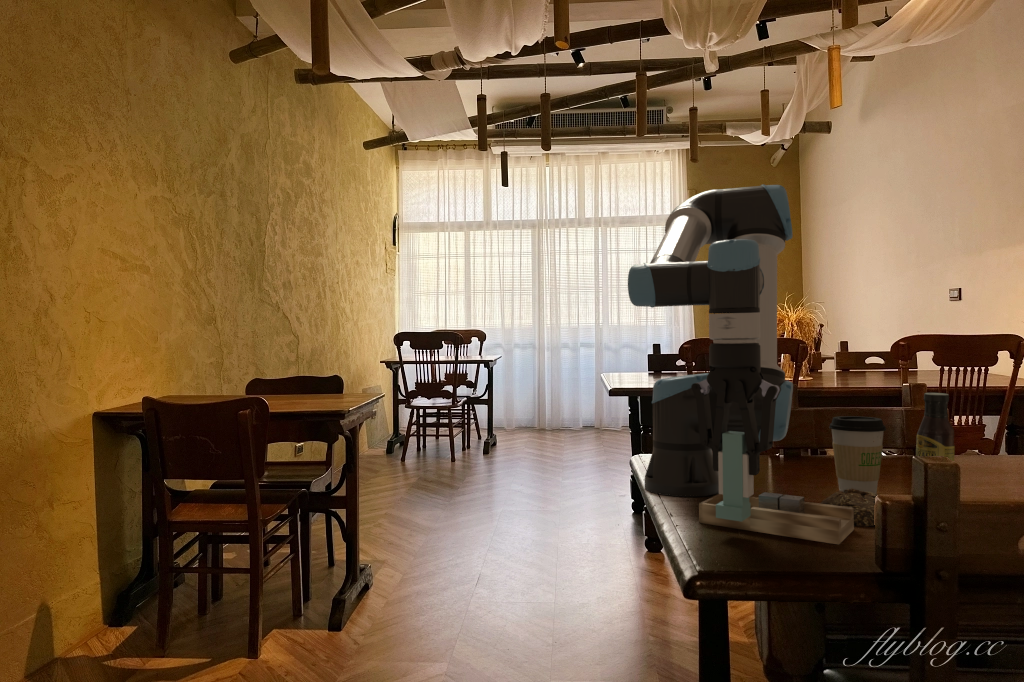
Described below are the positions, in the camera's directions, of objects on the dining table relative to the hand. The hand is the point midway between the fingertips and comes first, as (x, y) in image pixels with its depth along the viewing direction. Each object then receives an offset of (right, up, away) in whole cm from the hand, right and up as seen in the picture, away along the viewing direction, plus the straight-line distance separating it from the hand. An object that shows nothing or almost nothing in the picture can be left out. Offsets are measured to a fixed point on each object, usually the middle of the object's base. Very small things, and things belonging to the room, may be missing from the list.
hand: (736, 493), depth 108 cm
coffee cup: (+32, -7, +27) cm, 42 cm away
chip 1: (+8, -3, +6) cm, 10 cm away
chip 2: (+10, -3, +4) cm, 11 cm away
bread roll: (+24, -7, +12) cm, 28 cm away
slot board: (+8, -7, +6) cm, 12 cm away
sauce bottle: (+46, -6, +25) cm, 52 cm away
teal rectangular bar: (0, -4, 0) cm, 4 cm away
